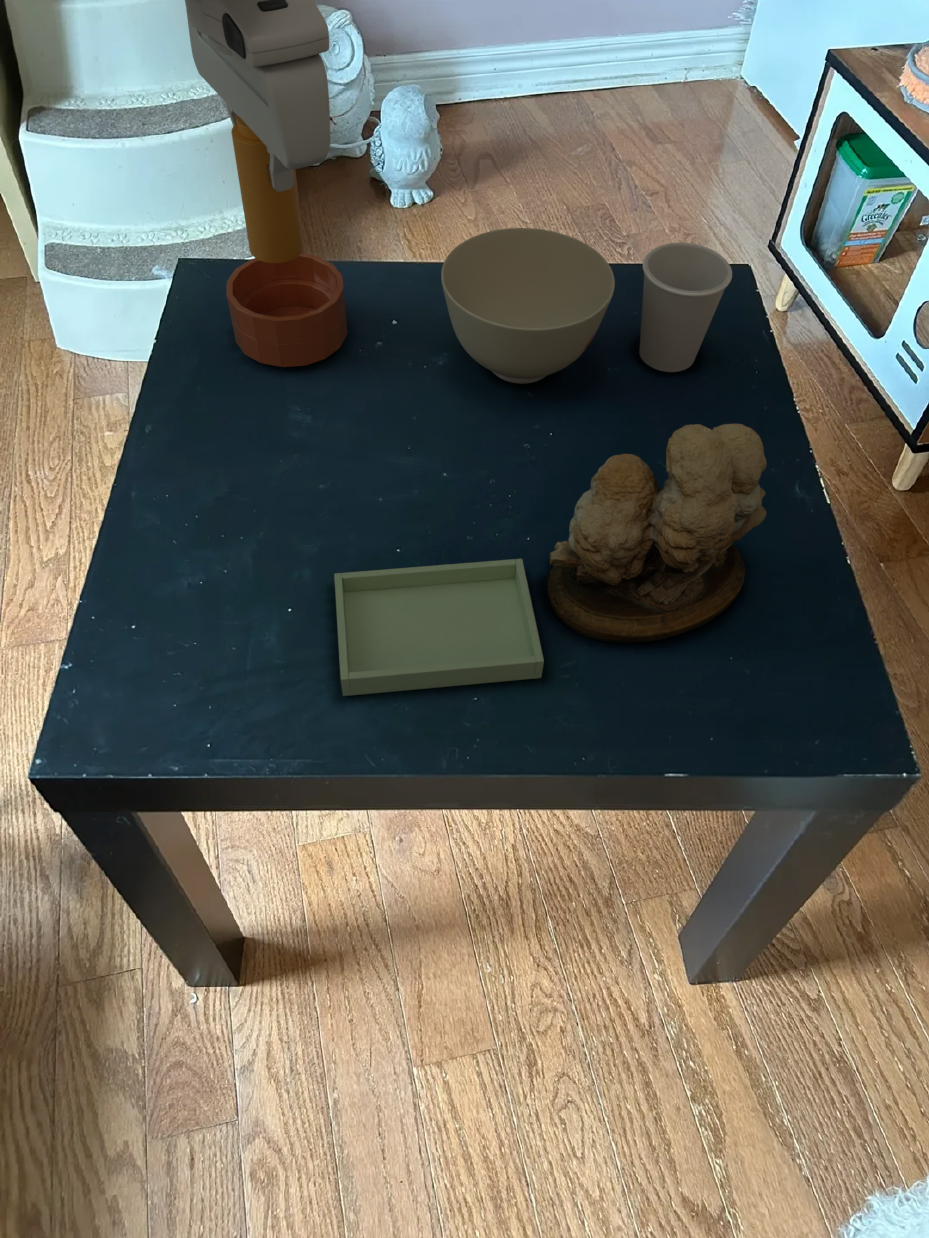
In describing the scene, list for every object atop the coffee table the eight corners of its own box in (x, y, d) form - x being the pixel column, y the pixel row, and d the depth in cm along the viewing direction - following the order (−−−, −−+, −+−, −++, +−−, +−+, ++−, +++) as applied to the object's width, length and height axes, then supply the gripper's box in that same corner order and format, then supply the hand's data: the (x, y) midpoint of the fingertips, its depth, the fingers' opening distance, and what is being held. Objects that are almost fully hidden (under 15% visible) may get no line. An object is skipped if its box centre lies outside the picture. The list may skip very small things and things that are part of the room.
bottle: (262, 269, 88) (237, 93, 76) (241, 242, 91) (212, 68, 79) (312, 254, 90) (295, 80, 78) (289, 228, 93) (269, 56, 80)
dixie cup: (623, 327, 101) (640, 239, 93) (703, 330, 101) (727, 243, 93) (628, 378, 96) (646, 291, 88) (712, 383, 96) (738, 295, 88)
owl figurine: (705, 504, 86) (756, 346, 72) (779, 602, 79) (852, 448, 66) (520, 561, 81) (539, 403, 67) (584, 669, 75) (619, 519, 61)
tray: (342, 696, 73) (340, 679, 71) (336, 591, 79) (334, 573, 77) (541, 678, 74) (544, 661, 72) (520, 576, 80) (522, 558, 78)
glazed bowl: (263, 385, 94) (254, 333, 89) (219, 323, 99) (208, 271, 95) (366, 350, 97) (363, 298, 93) (318, 292, 103) (312, 240, 98)
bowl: (547, 440, 90) (558, 352, 82) (408, 375, 95) (406, 287, 87) (627, 352, 98) (645, 265, 90) (496, 297, 103) (501, 209, 95)
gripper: (154, -47, 78) (187, 126, 89) (258, 53, 67) (281, 236, 78) (228, -60, 80) (251, 111, 91) (339, 36, 69) (351, 216, 80)
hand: (266, 170), depth 84 cm, fingers closed on bottle, 5 cm apart
